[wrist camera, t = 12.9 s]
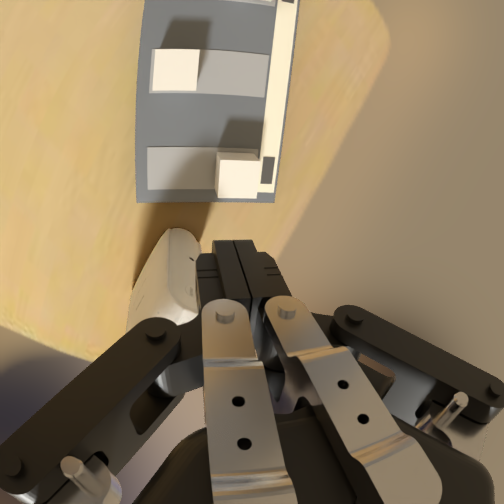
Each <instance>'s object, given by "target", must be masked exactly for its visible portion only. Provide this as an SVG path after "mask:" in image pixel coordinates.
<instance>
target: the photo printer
mask: <svg viewBox="0 0 504 504" xmlns="http://www.w3.org/2000/svg"><path fill="white" fill-rule="evenodd" d="M200 254H202V250H201V245H200V243H198V242H197V241H196V239H195V237H194V235H193V234H192V233H190V232H189V231H187V230H185V229H182V228H173V229H170V228H169V229H167V230H166V232H165V233H164V234H163V235H162V236H161V238H160V239H159V241H158V243H157V244H156V246H155V248H154V249H153V251H152V253H151V255H150V256H149V258H148V260H147V262H146V264H145V266H144V267H143V269H142V271H141V273H140V275H139V277H138V280H137V282H136V284H135V286H134V288H133V291H132V294H131V298H130V304H129V311H128V318H127V326H126V333H127V332H128V331H130V330H131V329H132V328H133V327H134V326H135V325H136V324H138V323H139V322H140V321H142V320H144V319H147V318H151V317H162V318H167V319H169V320H171V321H173V322H174V323H176V324H177V325H181V324H184V323H187V322H189V321H191V320H193V319H194V318H195V317H196V316H197V315H198V310H197V302H196V293H195V261H196V260H197V258H198V256H199V255H200Z"/></svg>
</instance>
